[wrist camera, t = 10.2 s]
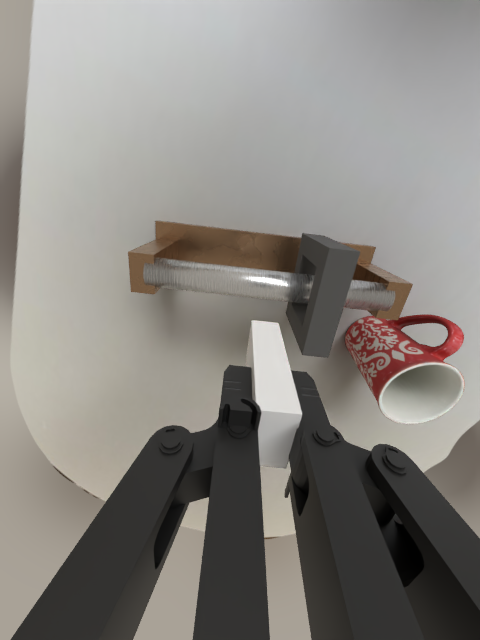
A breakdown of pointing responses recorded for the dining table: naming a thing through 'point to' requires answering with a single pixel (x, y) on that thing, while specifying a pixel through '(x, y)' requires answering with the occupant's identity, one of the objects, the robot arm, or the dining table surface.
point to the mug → (407, 367)
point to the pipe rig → (252, 268)
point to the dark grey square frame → (321, 292)
